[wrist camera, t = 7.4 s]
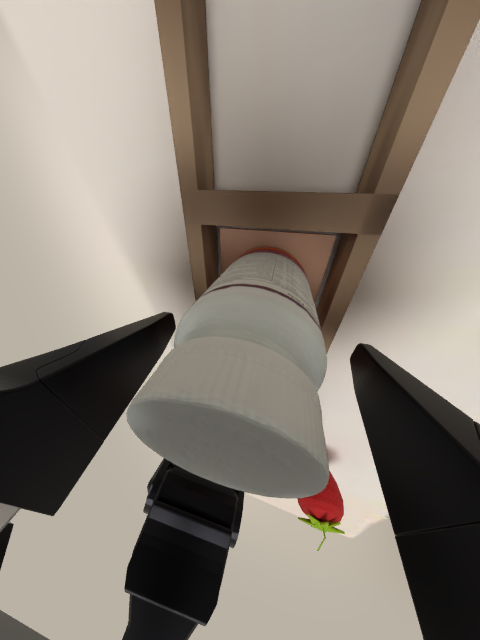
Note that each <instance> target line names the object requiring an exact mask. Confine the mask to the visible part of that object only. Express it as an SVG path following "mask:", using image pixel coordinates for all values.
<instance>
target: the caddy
mask: <svg viewBox="0 0 480 640" xmlns="http://www.w3.org/2000/svg"><path fill="white" fill-rule="evenodd" d="M154 2H155V9H156V16H157V24H158V31H159V38H160V45H161V53H162V60H163V67H164V74H165V82H166V89H167V96H168V103H169V111H170V118H171V125H172V133H173V140H174V147H175V154H176V162H177V169H178V176H179V183H180V191H181V198H182V205H183V212H184V220H185V227H186V234H187V241H188V249H189V256H190V263H191V270H192V278H193V285H194V292H195V299H196V301H197V300H198V299H199V298H200V297H201V296H202V295H203V294H204V293H205V292H206V290H207V289H208V288H209V287H210V286H211V285H212V284H213V283H214V282H215V281H216V280H217V279H218V264H217V243H216V225H218V226H235V227H251V228H268V229H285V230H301V231H318V232H335V233H343V235H342V237H341V240H340V243H339V246H338V249H337V252H336V255H335V258H334V261H333V264H332V267H331V270H330V273H329V276H328V279H327V282H326V285H325V288H324V291H323V294H322V296H321V299H320V302H319V305H318V308H317V315H318V320H319V324H320V328H321V332H322V335H323V338H324V343H325V348H326V354H327V352H328V350H329V347H330V345H331V343H332V341H333V339H334V336H335V334H336V332H337V330H338V328H339V325H340V323H341V321H342V319H343V317H344V315H345V312H346V310H347V308H348V306H349V304H350V301H351V299H352V297H353V295H354V293H355V290H356V288H357V286H358V284H359V282H360V279H361V277H362V275H363V273H364V271H365V269H366V266H367V264H368V262H369V260H370V258H371V255H372V253H373V251H374V249H375V247H376V244H377V242H378V240H379V238H380V236H381V234H382V231H383V229H384V227H385V225H386V223H387V220H388V218H389V216H390V214H391V212H392V209H393V207H394V205H395V203H396V201H397V199H398V196H399V194H400V192H401V190H402V188H403V185H404V183H405V181H406V179H407V177H408V174H409V172H410V170H411V168H412V166H413V163H414V161H415V159H416V157H417V155H418V153H419V150H420V148H421V146H422V144H423V142H424V139H425V137H426V135H427V133H428V131H429V128H430V126H431V124H432V122H433V120H434V118H435V115H436V113H437V111H438V109H439V107H440V104H441V102H442V100H443V98H444V96H445V93H446V91H447V89H448V87H449V85H450V83H451V80H452V78H453V76H454V74H455V72H456V69H457V67H458V65H459V63H460V61H461V58H462V56H463V54H464V52H465V50H466V47H467V45H468V43H469V41H470V39H471V37H472V34H473V32H474V30H475V28H476V26H477V23H478V21H479V19H480V0H422V1H421V4H420V7H419V10H418V13H417V16H416V19H415V22H414V25H413V28H412V31H411V34H410V37H409V40H408V43H407V46H406V49H405V52H404V55H403V58H402V60H401V63H400V66H399V69H398V72H397V75H396V78H395V81H394V84H393V87H392V90H391V93H390V96H389V99H388V102H387V105H386V108H385V111H384V114H383V117H382V119H381V122H380V125H379V128H378V131H377V134H376V137H375V140H374V143H373V146H372V149H371V152H370V155H369V158H368V161H367V164H366V167H365V170H364V173H363V176H362V178H361V181H360V184H359V187H358V190H357V193H314V192H270V191H227V190H214V179H213V158H212V137H211V116H210V95H209V74H208V53H207V32H206V11H205V0H154ZM335 239H336V235H330V234H314V233H298V232H282V231H266V230H250V229H233V228H220V249H221V275H222V274H223V273H224V272H225V271H226V270H227V268H228V267H229V266H230V265H231V264H232V263H233V262H234V261H235V260H236V259H237V258H238V257H239V256H241V255H242V254H243V253H245V252H247V251H249V250H251V249H254V248H258V247H276V248H280V249H282V250H285V251H287V252H288V253H290V254H292V255H293V256H294V257H295V258H296V259H297V260H298V261H299V262H300V264H301V265H302V267H303V269H304V271H305V273H306V276H307V279H308V283H309V286H310V290H311V294H312V297H313V301H314V304H315V301H316V298H317V295H318V292H319V289H320V285H321V282H322V279H323V276H324V273H325V270H326V267H327V264H328V261H329V258H330V254H331V251H332V248H333V245H334V242H335Z"/></svg>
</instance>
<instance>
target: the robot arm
mask: <svg viewBox="0 0 480 640" xmlns="http://www.w3.org/2000/svg"><path fill="white" fill-rule="evenodd" d="M175 328H176V325H175V320H174V316H173V314H172V313H169V312H163V313H160V314H157V315H154V316H151V317H149V318H146V319H143V320H140V321H137V322H134V323H132V324H129V325H126V326H123V327H120V328H117V329H115V330H112V331H109V332H106V333H103V334H100V335H98V336H95V337H92V338H89V339H87V340H84V341H81V342H78V343H75V344H72V345H69V346H66V347H63V348H60V349H57V350H54V351H51V352H48V353H45V354H42V355H38V356H35V357H32V358H29V359H25V360H22V361H19V362H15V363H12V364H9V365H6V366H3V367H0V569H1V566H2V562H3V559H4V556H5V552H6V549H7V545H8V542H9V538H10V535H11V532H12V528H13V524H12V523H10V522H9V521H10V520H11V519H12V518H13V517H14V516H15V515H16V513H17V512H18V511H19V510H20V509H21V508H22V509H26V510H30V511H34V512H38V513H42V514H46V515H50V516H54V515H55V513H56V512H57V511H58V509H59V508H60V507H61V505H62V504H63V502H64V501H65V499H66V498H67V496H68V495H69V493H70V491H71V490H72V489H73V487H74V486H75V484H76V483H77V481H78V480H79V478H80V477H81V475H82V474H83V472H84V471H85V469H86V468H87V466H88V465H89V463H90V462H91V460H92V459H93V457H94V456H95V454H96V453H97V451H98V450H99V448H100V447H101V445H102V444H103V442H104V440H105V439H106V437H107V436H108V434H109V433H110V431H111V430H112V429H113V427H114V426H115V424H116V423H117V421H118V420H119V418H120V417H121V415H122V413H123V412H124V411H125V409H126V408H127V406H128V405H129V403H130V401H131V400H132V399H133V397H134V396H135V394H136V393H137V391H138V390H139V388H140V387H141V385H142V383H143V382H144V381H145V379H146V378H147V376H148V375H149V373H150V372H151V370H152V368H153V367H154V366H155V364H156V363H157V361H158V360H159V358H160V357H161V355H162V354H163V352H164V350H165V348H166V346H167V344H168V342H169V341H170V339H171V337H172V335H173V333H174V331H175ZM350 364H351V370H352V377H353V384H354V390H355V394H356V398H357V402H358V405H359V409H360V413H361V416H362V420H363V423H364V427H365V430H366V434H367V438H368V441H369V445H370V448H371V452H372V456H373V459H374V463H375V466H376V470H377V473H378V477H379V481H380V484H381V488H382V491H383V495H384V498H385V502H386V506H387V509H388V513H389V516H390V520H391V523H392V527H393V530H394V534H395V535H396V536H395V539H396V542H397V546H398V549H399V553H400V556H401V560H402V563H403V567H404V571H405V574H406V578H407V581H408V585H409V589H410V592H411V596H412V599H413V603H414V606H415V610H416V614H417V617H418V621H419V624H420V628H421V631H422V635H423V639H424V640H480V424H479V423H477V422H475V421H473V419H472V418H470V417H469V416H467V415H466V414H465V413H463V412H462V411H461V410H459V409H458V408H456V407H455V406H454V405H452V404H451V403H450V402H448V401H447V400H445V399H444V398H443V397H441V396H440V395H439V394H437V393H436V392H434V391H433V390H432V389H430V388H429V387H428V386H426V385H425V384H423V383H422V382H421V381H419V380H418V379H417V378H415V377H414V376H412V375H411V374H410V373H408V372H407V371H406V370H404V369H403V368H401V367H400V366H399V365H397V364H396V363H395V362H393V361H392V360H390V359H389V358H388V357H386V356H385V355H384V354H382V353H381V352H379V351H378V350H377V349H375V348H374V347H373V346H371V345H368V344H362V343H360V344H358V345H357V346H356V348H355V350H354V351H353V353H352V355H351V357H350ZM147 489H148V496H147V501H146V503H145V507H144V513H146V514H148V515H147V518H146V520H145V523H144V525H143V528H142V530H141V533H140V535H139V538H138V540H137V543H136V545H135V547H134V550H133V553H132V557H131V560H130V562H129V564H128V567H127V574H126V582H125V592H126V593H129V594H130V603H129V621H128V625H127V628H126V631H125V634H124V636H123V639H122V640H188V639H189V637H190V636H191V634H192V633H193V631H194V629H195V628H196V626H197V625H198V624H201V625H203V626H206V624H207V623H208V621H209V619H210V617H211V615H212V613H213V611H214V609H215V607H216V605H217V601H218V595H219V590H220V586H221V582H222V578H223V573H224V568H225V564H226V559H227V555H228V550H229V547H231V548H234V546H235V544H236V541H237V538H238V533H239V529H240V524H241V518H242V511H243V500H244V492H243V491H240V490H236V489H232V488H229V487H226V486H223V485H221V484H218V483H215V482H212V481H210V480H208V479H205V478H202V477H200V476H198V475H195V474H193V473H191V472H189V471H187V470H185V469H183V468H181V467H179V466H177V465H175V464H174V463H172V462H170V461H168V460H166V459H165V458H164V459H163V461H162V462H161V464H160V465H159V467H158V469H157V470H156V472H155V473H154V475H153V477H152V478H151V480H150V482H149V484H148V486H147ZM0 640H49V639H48V638H46V637H44V636H42V635H41V634H39V633H38V632H36V631H34V630H33V629H31V628H29V627H27V626H26V625H24V624H23V623H20V622H19V621H18V620H16V619H14V618H12V617H11V616H9V615H7V614H6V613H4V612H2V611H1V610H0Z"/></svg>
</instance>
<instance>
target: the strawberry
mask: <svg viewBox="0 0 480 640" xmlns="http://www.w3.org/2000/svg"><path fill="white" fill-rule="evenodd" d="M298 503H299V505H300V507H301V509H302V511H303V512H304V513H305V514H306V515H307V516H308V517H309V519H305V518H299V517H298V519H299V520H301V521H303V522H305V523H307V524H309V525H311V526H312V527H314V528H317V529H319V530H321V531H323V533H324V532H326V531H328V532H335V533H343V534H345V533H344V531H341V530H339V529H337V528H335V527H333V526H336V525H339V524H341V523H340V521H341V519H342V517H343V515H344V508H343V499H342V497H341V494H340V491H339V488H338V485H337V483H336V481H335V479H334V478H333V476H332V474H331V472H330V471H329V480H328V484H327V485H326V487H325V489H324V490H323V491H321V492H319V493H318V494H316V495H313V496H309V497H304V498H298ZM324 537H325V533H324ZM325 538H326V537H325ZM325 538H324V539H323V541H322V543H323V542H324V540H325ZM322 543H321V545H322ZM321 545H320V546H319V548H318V550H319V549H320V547H321ZM318 550H317V551H318Z"/></svg>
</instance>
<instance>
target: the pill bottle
mask: <svg viewBox="0 0 480 640" xmlns="http://www.w3.org/2000/svg"><path fill="white" fill-rule="evenodd" d="M326 368H327V356H326V348H325V343H324V338H323V335H322V332H321V328H320V324H319V320H318V315H317V311H316V308H315V304H314V301H313V297H312V294H311V290H310V286H309V283H308V279H307V276H306V273H305V271H304V269H303V267H302V265H301V264H300V262H299V261H298V260H297V259H296V258H295V257H294V256H293V255H292V254H290V253H288V252H287V251H285V250H282V249H280V248H276V247H258V248H254V249H251V250H249V251H247V252H245V253H243V254H242V255H241V256H239V257H238V258H237V259H236V260H235V261H234V262H233V263H232V264H231V265H230V266H229V267H228V268H227V270H226V271H225V272H224V273H223V274H222V275H221V276H220V277H219V278H218V279H217V280H216V281H215V282H214V283H213V284H212V285H211V286H210V287H209V288H208V289H207V290H206V292H205V293H204V294H203V295H202V296H201V297H200V298H199V299H198V300H197V301H196V302H195V303H194V304H193V305H192V306H191V307H190V308H189V310H188V311H187V312H186V313H185V314H184V316H183V317H182V319H181V321H180V323H179V325H178V327H177V330H176V333H175V340H174V349H173V350H171V351H170V352H169V354H168V355H167V356H166V357H165V358H164V360H163V361H162V362H161V364H160V365H159V367H158V368H157V370H156V371H155V372H154V374H153V375H152V376H151V377H150V379H149V380H148V381H147V383H146V384H145V385H144V386H143V387H142V389H141V390H140V391H139V392H138V394H137V395H136V396H135V398H134V399H133V400H132V402H131V404H130V405H129V408H128V410H127V421H128V423H129V425H130V427H131V429H132V430H133V431H134V433H135V434H136V435H137V437H138V438H139V439H140V440H141V441H142V442H143V443H145V444H146V445H147V446H148V447H149V448H151V449H152V450H153V451H155V452H156V453H158V454H159V455H160V456H162V457H164V458H165V459H166V460H168V461H170V462H172V463H174V464H175V465H177V466H179V467H181V468H183V469H185V470H187V471H189V472H191V473H193V474H195V475H198V476H200V477H202V478H205V479H208V480H210V481H212V482H215V483H218V484H221V485H223V486H226V487H229V488H232V489H236V490H240V491H243V492H247V493H252V494H257V495H262V496H267V497H276V498H304V497H309V496H313V495H316V494H318V493H319V492H321V491H323V490H324V489H325V487H326V485H327V484H328V480H329V465H328V457H327V450H326V443H325V437H324V432H323V426H322V412H321V406H320V401H319V396H318V393H317V391H318V389H319V388H320V386H321V384H322V382H323V380H324V377H325V373H326Z"/></svg>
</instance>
